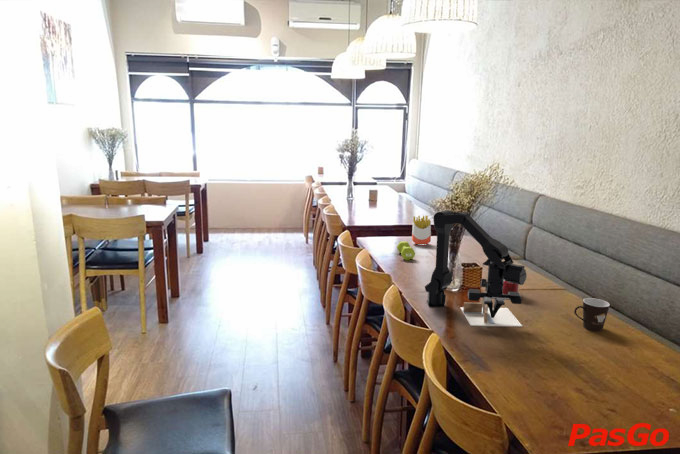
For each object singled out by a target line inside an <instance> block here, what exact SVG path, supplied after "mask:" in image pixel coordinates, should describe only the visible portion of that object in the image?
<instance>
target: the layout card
mask: <svg viewBox="0 0 680 454" xmlns="http://www.w3.org/2000/svg"><path fill="white" fill-rule="evenodd" d="M459 308H460V310H461V312H462V313H463V315H464V317H465V319H466V320H467V322H468V324H469V326H471V327H511V328H512V327H515V328H516V327H517V328H518V327H520V328H522V327H523V324H521V323H520V321H519V320H518V319H517V318H516V316H515V315H514V314H513V313H512V311H511V310H510V309H509V308H508V307H500V308H499V310H498V311H497V313H496V315H495V316H494V318H491V314H490V310H489V307H488V314H487V323H485V322H484V313H483V307H482V312H464V311H463V309H464V306H462V307H459Z"/></svg>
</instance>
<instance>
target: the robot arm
mask: <svg viewBox="0 0 680 454" xmlns="http://www.w3.org/2000/svg"><path fill="white" fill-rule="evenodd" d="M454 224H460V226H462V227H463V229H465V231H466V232H467V233H468V234H469V235H470V236H471V237H472V238H473V239H474V240H475V241H476V242H477V243H478V244H479V245H480V246H481V248H482V252H483V254H484V255H485V256H486V257H487V259H486V260H485V261H484V262H482V265H483V266H486V267H487V266H488V268H487V277H486V278H481V279H480V288H484V289H485V290H484V291H485V292H480V289H479V288H477V289H476V288H469V289H468V290H467V299H468V301H472V302H478V301H479V300H480V299H481V298H482V300H483V303H485V304H487V305H488V308H489V310H490V314H491V318H494V316H495V315H496V313H497V311H498V310H499V308H502V306H505V305H506V303H505V300H509V302H511V303H512V304H514V305H522V301H523V300H522V299H523V298H522V295H521V294H520V292H519V291H518V292H510V291H509V292H508V294H502V293H503V282H504V280H505V281H507V282H511V283H515V284H519V286H523V285H524V284H525V283H526V280H527V270H526V269H525V265H521V264H520V265H519V264H514V263H515V262H514V260H513V258H512V256H511V255H510V253H509V249H508V247H507V245H505V244H503V243H502V242H501V241H499V240H497V239H495V238H493V237H492V236H490V234H488V233H487V231H486V230H485V229H484V228H482V226H481V225H480V224H479V223H477V221H476V220H475V219H474V218H473V217H472V216H471V215H470V213H468V212H467V211H464V212H459V211H452V210H450V209H446V210H442V211H438V212H436V213H434V215H433V227H434V229H435V231H436V250H435V251H436V252H435V255H436V257H435V267H434V270H433V272H432V274H431V278H430V282H429V283H428V284H426V285H425V286H424V289H425V292H426V293H427V299H426V303H427V305H428V307H429V308H445V306H446V305H445V304H446V296H447V295H446V293H445V290H447V289H448V287H449V286H450V285H452V282H453V281H454V280H453V274H454V273H453V271H450V269H449V266H448V265H449V250H450V233H451V232H452V229H453V227H454ZM493 299H494V302H493Z"/></svg>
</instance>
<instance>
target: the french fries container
mask: <svg viewBox="0 0 680 454" xmlns="http://www.w3.org/2000/svg"><path fill="white" fill-rule="evenodd" d="M412 218H413V219H412V229H411V230H412V231H411V241H412V242H413V243H414V244H415V245H416V244H427V245H428V244H430V243H431V241H432V231H431V229H432V226H431V225H432V224H431V223H432V221H431V219H430V218H429V217H428V215H422V217H421V215H418V217H416V216H413V217H412Z"/></svg>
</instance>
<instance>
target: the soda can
mask: <svg viewBox="0 0 680 454" xmlns="http://www.w3.org/2000/svg"><path fill="white" fill-rule="evenodd" d="M519 289H520V285H519V284H515V283H511V282H507V281H505V280H504V282H503V293H502V294H508V292H509V291H510V292H519Z"/></svg>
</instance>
